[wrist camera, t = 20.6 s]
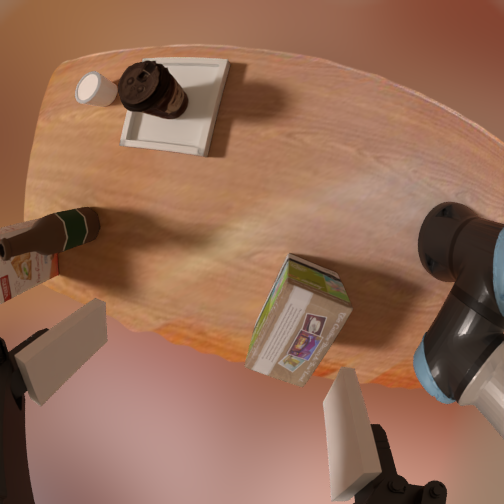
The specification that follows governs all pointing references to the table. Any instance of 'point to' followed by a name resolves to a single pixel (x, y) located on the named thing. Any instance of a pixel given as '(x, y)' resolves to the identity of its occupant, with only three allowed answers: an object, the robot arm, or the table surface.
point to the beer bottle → (53, 234)
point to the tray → (193, 119)
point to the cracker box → (24, 266)
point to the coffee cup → (152, 91)
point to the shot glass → (95, 90)
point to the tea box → (298, 321)
